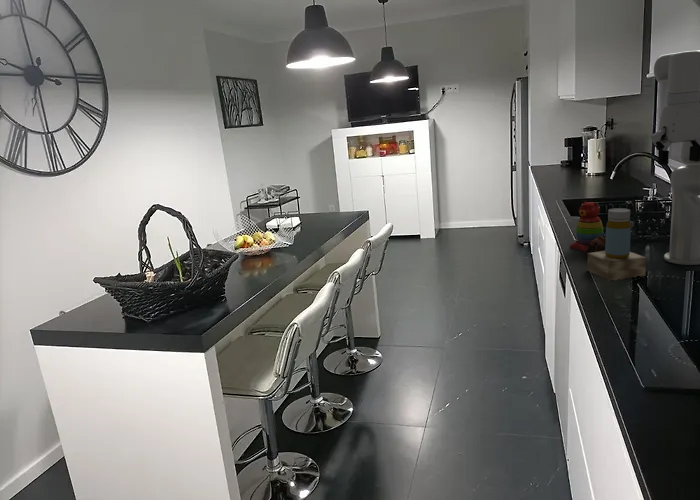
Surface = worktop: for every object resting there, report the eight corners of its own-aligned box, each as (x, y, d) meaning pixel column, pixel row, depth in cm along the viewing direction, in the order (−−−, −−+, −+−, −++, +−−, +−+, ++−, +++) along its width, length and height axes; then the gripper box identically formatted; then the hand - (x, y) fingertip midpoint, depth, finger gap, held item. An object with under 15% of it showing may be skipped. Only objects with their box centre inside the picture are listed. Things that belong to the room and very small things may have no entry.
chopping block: (620, 265, 177) (621, 248, 176) (645, 275, 166) (646, 257, 164) (587, 270, 176) (587, 253, 174) (610, 281, 164) (610, 262, 163)
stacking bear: (567, 247, 203) (567, 202, 199) (588, 243, 206) (588, 198, 202) (589, 253, 193) (589, 206, 189) (610, 248, 197) (611, 201, 192)
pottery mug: (584, 253, 196) (596, 233, 194) (609, 265, 192) (621, 246, 190) (582, 254, 186) (594, 233, 184) (608, 267, 182) (621, 246, 180)
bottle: (632, 258, 164) (634, 211, 161) (608, 259, 166) (610, 213, 162) (625, 252, 171) (627, 207, 167) (602, 253, 173) (604, 208, 169)
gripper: (700, 97, 147) (696, 158, 152) (644, 103, 145) (641, 165, 150) (722, 96, 140) (717, 160, 145) (663, 102, 138) (660, 167, 142)
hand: (678, 162), depth 147 cm, fingers open, 9 cm apart
